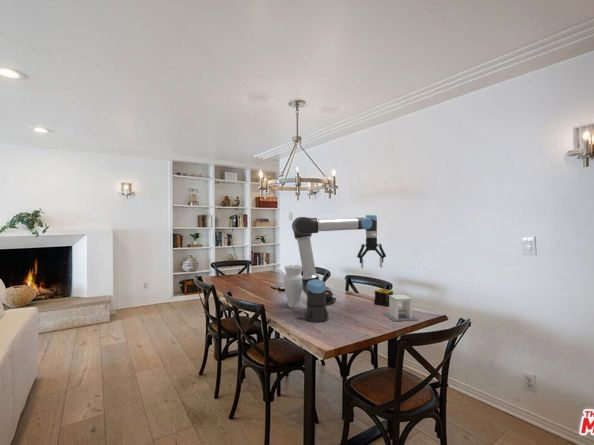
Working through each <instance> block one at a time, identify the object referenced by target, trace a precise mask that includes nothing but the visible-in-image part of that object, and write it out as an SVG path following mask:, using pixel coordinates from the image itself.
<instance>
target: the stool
mask: <svg viewBox="0 0 594 445" xmlns="http://www.w3.org/2000/svg"><path fill="white" fill-rule="evenodd" d="M412 300H413V299H412V297H410V296H407V295H405V294H393V295H389V306H388V312H389V314H390V315H391V316H393V317H394V318H395V319H398V312H402V314H404V315H405V316H407V317H408V318H410V319H411V318H412V316H413V311H412V309H413V307H412V305H413V304H412V303H413V301H412ZM399 302H402V303H401V309H399Z"/></svg>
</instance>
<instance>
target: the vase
mask: <svg viewBox="0 0 594 445" xmlns="http://www.w3.org/2000/svg"><path fill="white" fill-rule="evenodd" d="M284 270H285V273H286V274H285V276H284V277H283V288H284V292H285V295H286V299H287V306H289V307H288V308H291V307H293V309H294V308H295V309H296V308H299V307H300V300H301V297H302V293H303V288H302V284H303V283H302V277H303V275H302V272H303V269H302V265H299V264H294V265H293V264H289V265H285V266H284Z"/></svg>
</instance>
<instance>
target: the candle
mask: <svg viewBox="0 0 594 445" xmlns="http://www.w3.org/2000/svg"><path fill="white" fill-rule="evenodd" d="M389 295H394V291H393V290H390V289H386V288H385V289H384V288H379V289H376V290H374V300H373V302H374V305H375V306H376V305H377V306H382V307H389Z"/></svg>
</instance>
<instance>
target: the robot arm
mask: <svg viewBox="0 0 594 445" xmlns="http://www.w3.org/2000/svg"><path fill="white" fill-rule="evenodd" d="M291 228H292V231H293V235H294V239H295V240H296V241H297V245H298V250H299V251H298V252H299V257H300V261H301V262H300V263H301V266H302V273H303V275H302V283H303V284H302V288H303V289H302V292H303V293H304V294H305V296H306V298H307V299H306V308H305V312H304V320H306V321H307V322H312V323H323V322H326V321H328V320H329V312H328V309H327V306H326V305H327V304H326V290H327V287H326V286H327V285H326V283H325V281H324V280H320V275H319V274H318V273H317V271H316V266H315V265H316V264H315V259H314V254H313V248H312V241H311V237H312V234H318V233H319V232H334V231H335V232H336V231H355V230H356V231H357V230H359V231H360V230H365V243H361V245H360V246H361V247H360V249H359V251H358V253H357V256H356V257H357V258H358V259H359V264H360V268H361V269H364V258H363V257H365V255H366V254H367V253H368V252H370V251H375V253H377V255H378V256H379V268H381V269H382V268H383V263H384V258H386V257H387V255H386V253H385V250H384V248H383V246H382V244H381V243H378V217H377V215H376V214H367V215H365V217H348V218H347V217H346V218H345V217H344V218H324V219H323V218H322V219H319V218H317V217H307V216H299V217H296V218H295V219H294V220H293V221H292V222H291ZM364 248H365V249H364Z"/></svg>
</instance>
